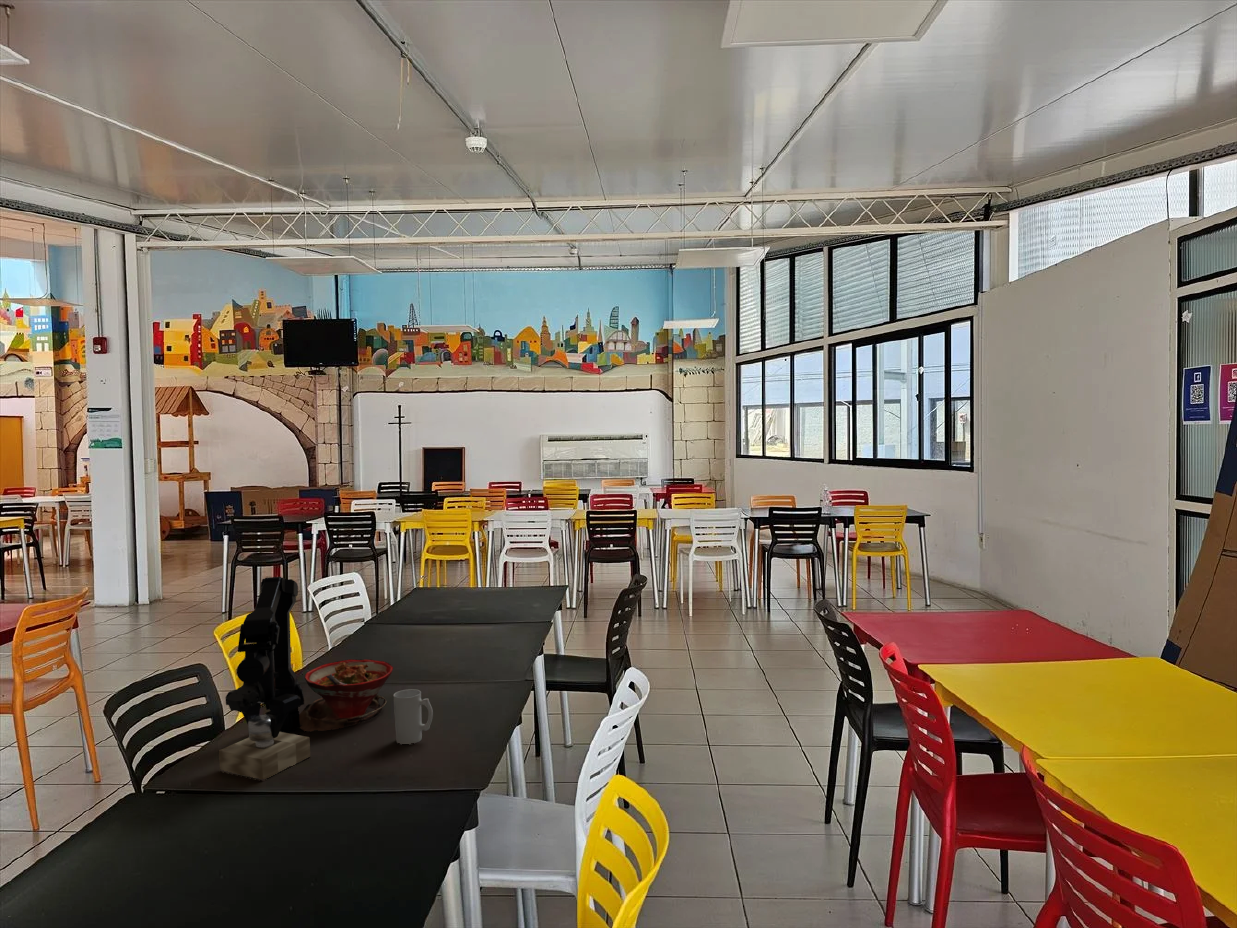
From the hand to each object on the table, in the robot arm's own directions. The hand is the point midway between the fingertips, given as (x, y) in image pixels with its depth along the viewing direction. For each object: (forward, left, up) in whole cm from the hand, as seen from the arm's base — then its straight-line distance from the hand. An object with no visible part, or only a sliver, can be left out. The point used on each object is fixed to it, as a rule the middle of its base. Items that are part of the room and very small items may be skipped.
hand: (264, 735), depth 194 cm
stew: (-6, +33, -7) cm, 34 cm away
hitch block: (0, 0, -7) cm, 7 cm away
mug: (+24, +25, -7) cm, 35 cm away
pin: (0, 0, -5) cm, 5 cm away
